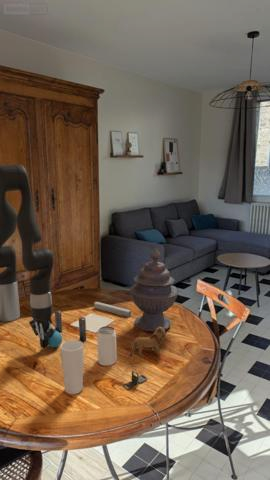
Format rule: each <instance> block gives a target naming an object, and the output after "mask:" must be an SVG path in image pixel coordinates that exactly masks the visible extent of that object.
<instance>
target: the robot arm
mask: <svg viewBox="0 0 270 480" xmlns="http://www.w3.org/2000/svg"><path fill="white" fill-rule="evenodd" d="M13 191H19V192H20V194H21V202H20V206H19V209H18V212H17V211H16V209H15V208H14V207H13V206H12V204H11V202H9V201H8V198H7V197H6V196H7V195H6V194H7V192H13ZM16 230H17V231H18V234H19V237H20V240H21V253H22V254H21V257H22V258H21V260H22V261H21V262H22V266H23V267H24V269H25V270H27V271H28V272H35V271H38V272H37V273H36V274H33V276H31V277H30V278H29V293H30V295H29V303H30V313H31V314H30V315H31V318H32V320H30V321H28V324H29V325H30V327H31V329H32V331H33V333H34V335H35V336H36V337H37V336H38V339H39V345H40V348H41V349H46V348H48V347H49V345H48V338H50V337H52V336H53V334H54V333H55V331H56V330H57V327H56V325H55V326H54V325H53V320H52V316H53V313H54V312H53V299H52V292H51V291H52V290H51V276H52V272H53V267H54V255H53V252H52V251H51V250H50V249H49V248H46V247H44V248H39V249H35V250H34V249H33V248H34V247H33V246H34V245H36V244H38V243H40V242H41V241H42V239H43V237H42V234H41V230H40V228H39V224H38V221H37V218H36V214H35V209H34V203H33V195H32V190H31V183H30V179H29V174H28V171H27V169H26V168H25V166H24V165H22V164H5V165H3V164H1V165H0V269H2V268H5V269H4V270H3V271H2V272H0V322H5V323H6V322H7V323H8V322H13V321H16V320H18V319H19V318H20V317H21V311H20V310H21V309H20V300H19V299H20V298H19V288H18V273H17V254H16V253H17V252H16V249H15V247H14V246H13V245H5V243H6V242H7V241H8V240H9V239H11V237H12V236H13V234H14V233H15V232H16Z"/></svg>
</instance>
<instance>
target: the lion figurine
mask: <svg viewBox="0 0 270 480" xmlns="http://www.w3.org/2000/svg"><path fill="white" fill-rule="evenodd" d="M155 330H156V331H155V332H153V333H152V334H151V335H150V336H146V337H144V336H143V337H142V336H138V337H136V338H135V339H134V341H133V342H132V347H131V352H130V354H129V357H132V356H133V355H136V351H135V350H136V349H138V351H137V353H138V354H139V356H140V357H141V358H144V357H145V354H143V353H142V350H143V349H144V347H145V348H150V347H151V350H152V351H153V352H155V353H156V355H159V354H160V351H159V348H160V345H161V344H162V343H164V340H165V338H166V337H165V336H166V330H165V328H163V327H158V328H156V329H155Z"/></svg>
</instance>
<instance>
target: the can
mask: <svg viewBox="0 0 270 480" xmlns="http://www.w3.org/2000/svg"><path fill="white" fill-rule="evenodd" d="M115 330H116V329H115V328H114V327H113V326H109V325H107V326H104V327H101V328H99V330H98V332H97V339H96V341H97V362H98V364H100V365H101V366H104V367H110V366H113V365H115V363H116V362H117V334H116V331H115Z"/></svg>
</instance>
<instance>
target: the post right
mask: <svg viewBox="0 0 270 480" xmlns="http://www.w3.org/2000/svg"><path fill="white" fill-rule="evenodd" d="M84 317H85V316H84ZM84 317H79V318H78V320H79V328H78V330H79V331H78V333H79V334H78V335H79V341H81V342H82V343H83V342H86V341H87V330H86V320H85V318H84Z"/></svg>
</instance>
